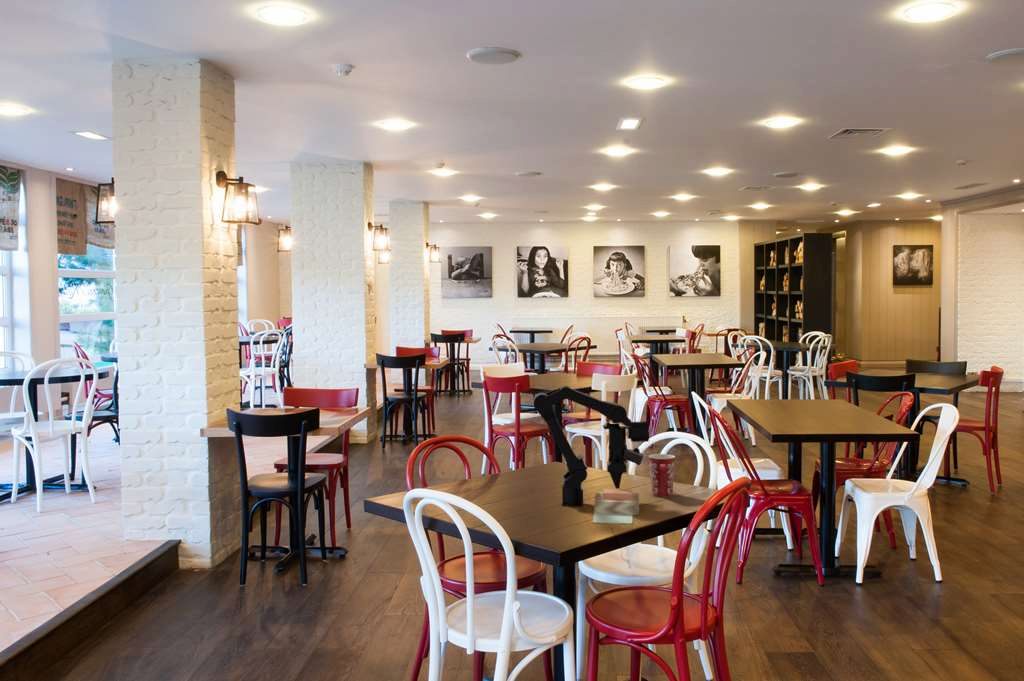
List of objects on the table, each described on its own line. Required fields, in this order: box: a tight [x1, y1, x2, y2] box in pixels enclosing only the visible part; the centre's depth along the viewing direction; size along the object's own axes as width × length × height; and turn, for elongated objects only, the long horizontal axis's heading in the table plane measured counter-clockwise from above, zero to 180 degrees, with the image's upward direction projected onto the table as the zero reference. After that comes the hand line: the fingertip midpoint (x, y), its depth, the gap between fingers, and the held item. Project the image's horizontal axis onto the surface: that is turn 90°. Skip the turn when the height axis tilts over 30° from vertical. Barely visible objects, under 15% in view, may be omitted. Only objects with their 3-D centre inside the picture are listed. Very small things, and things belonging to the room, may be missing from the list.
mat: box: [592, 513, 634, 525], centre depth 261 cm, size 12×11×1 cm
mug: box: [648, 453, 676, 498], centre depth 289 cm, size 13×9×14 cm
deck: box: [593, 491, 640, 516], centre depth 272 cm, size 14×12×4 cm
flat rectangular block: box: [602, 488, 632, 500], centre depth 272 cm, size 9×6×2 cm, turn 82°
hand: (617, 488), depth 280 cm, fingers closed
